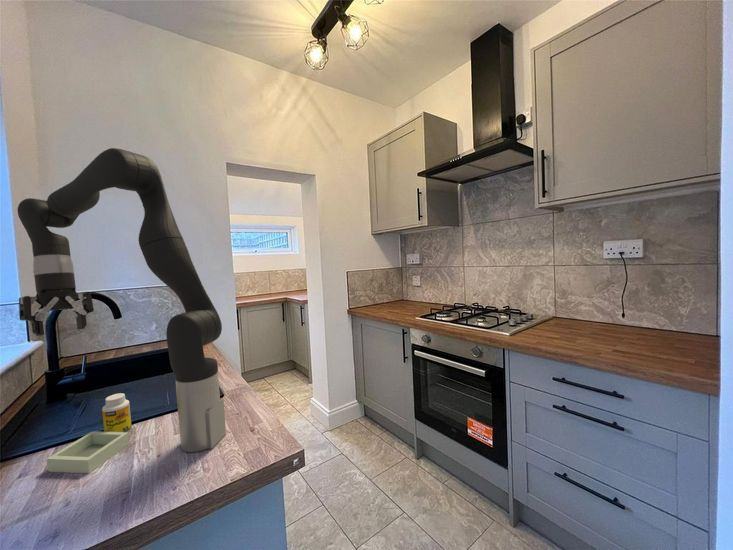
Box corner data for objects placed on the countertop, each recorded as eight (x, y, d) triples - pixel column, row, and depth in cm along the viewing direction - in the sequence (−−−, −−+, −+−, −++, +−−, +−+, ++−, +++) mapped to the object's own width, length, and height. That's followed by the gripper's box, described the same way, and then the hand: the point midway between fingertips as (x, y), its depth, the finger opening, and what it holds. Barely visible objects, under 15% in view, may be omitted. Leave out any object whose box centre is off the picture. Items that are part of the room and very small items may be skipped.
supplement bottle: (102, 442, 75) (98, 404, 75) (106, 432, 80) (103, 395, 79) (130, 434, 78) (127, 397, 78) (133, 424, 83) (129, 389, 82)
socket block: (129, 443, 75) (128, 432, 74) (89, 473, 65) (87, 460, 64) (93, 442, 75) (92, 431, 75) (48, 471, 66) (46, 458, 65)
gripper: (24, 271, 73) (32, 337, 72) (94, 270, 86) (101, 326, 86) (9, 275, 75) (16, 339, 75) (79, 274, 89) (85, 328, 88)
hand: (61, 332), depth 80 cm, fingers open, 8 cm apart
